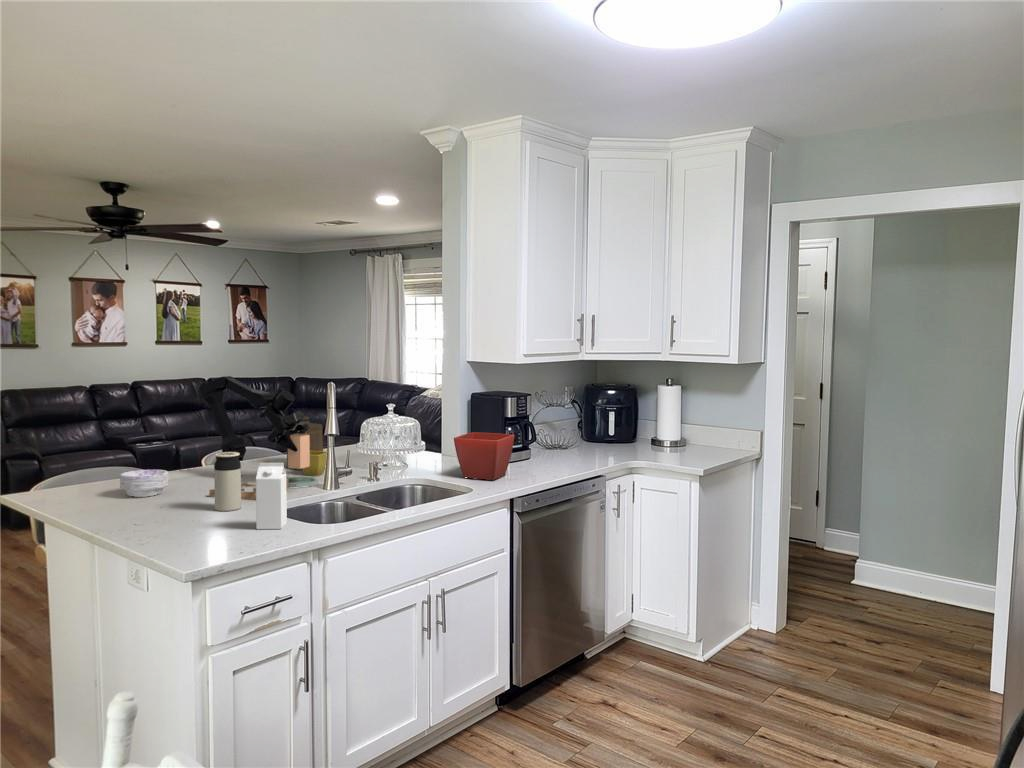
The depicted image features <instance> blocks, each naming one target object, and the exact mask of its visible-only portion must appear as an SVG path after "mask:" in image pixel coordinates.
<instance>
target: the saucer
mask: <svg viewBox="0 0 1024 768" xmlns="http://www.w3.org/2000/svg"><path fill="white" fill-rule="evenodd" d="M316 483H318V484H319V479H317V478H316V477H312V476H311V477H310V476H296V477H295V476H294V477H289V487H302V486H312V485H314V484H316ZM312 487H313V486H312Z"/></svg>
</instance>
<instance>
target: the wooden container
mask: <svg viewBox="0 0 1024 768" xmlns="http://www.w3.org/2000/svg"><path fill="white" fill-rule="evenodd" d="M309 420H310V417H309V416H308V415H304V418H303V421H299V422H297V423H296V426H295V427H293V428H294V429H295V428H296V427H297V425H298V424H307V425H308V426H309V429H308V430H307V431H306V432H305V433H304V434H308V435H309V440H310V451H324V440H323V438H324V437H323V435H324V434H323V424H322V423H315V422H310V421H309ZM286 467H287V469H288V448H286ZM292 469H296V470H295V471H303V469H297V468H289V470H292Z"/></svg>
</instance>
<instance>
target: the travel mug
mask: <svg viewBox="0 0 1024 768" xmlns="http://www.w3.org/2000/svg"><path fill="white" fill-rule="evenodd" d="M239 455H240V453H238V452H222V451H221V452H217V453H215V454H214V456H215V459H216V460H215V462H214V464H213V468H214V470H213V472H214V474H213V475H214V477H213V478H214V483H213V484H214V489H215V497H214V509H215V511H218V512H233V511H238V510H239V509H241V508H242V499H241V488H242V487H241V483H242V477H241V475H242V468H241V467H242V465H241V461H239V459H238V458H239Z"/></svg>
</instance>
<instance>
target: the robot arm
mask: <svg viewBox="0 0 1024 768" xmlns="http://www.w3.org/2000/svg"><path fill="white" fill-rule="evenodd" d="M198 389H199V391H198V392H199V395H200V396H201V398H202V400H203V401H204V402H205V403H206V404H207V405H208V406H209V407H210V410H211V413H212V414H213V415H212V416H213V418H214V420H215V423H216V426H217V427H218V428H217V429H218V431H219V434H220V437H221V439H222V441H221V445H220V447H221V453H222V452H238V453H240V455H239V458H238V459H239V461H240V462H243V460H244V457H245V454H246V452H247V449H246V447H247V445H246V444H245V441H244V438H243V437H242V436H241V437H238V436H237V435H236V433H235V431H234V428H233V425H232V422H231V420H230V418H229V415H228V411H227V409H226V407H225V404H224V396H225V393H224V392H225V391H226V390H229V391H231V392H233V393H235V394H237V395H239V396H240V397H243V398H245V399H246V400H247V402H248V403H249V404H250V405H251V406H252V407H253V408H255V409H262V408H265V409H264V410H261V411H260V410H259V411H260V412H259V418H260V419H264V418H266V419H267V421H268V422H269V423H270V428H271V429H272V431H271V432H270V433H269V434H268V435H267V437H266V438H267V439H266V440H267V442H268V443H269V444H270V445H271V444H276V445H279V446H282V447H284V448H286V449H287V448H288V449H290V450H293V451H295V452H297V450H298V449H297V448H296V446H295V444H294V443H293V441H292V440H291V439H290V435H292V434H297V433H298V434H304V433H305V432H306V431H307V430H308V429H309V426H308V425H307V424H298V425H297V427H296V428H295V429H294V428H293V427H295V426H296V424H297V423H300V422H301V421H303V418H304V416H305V414H304V413H303V412H301V411H300V410H298V411H296V412H294V413H291V414H289V415H285V414H284V413H283V412H285V411H287V410H288V409H289V407H291V405H292V404H293V403H294V401H295V400H296V398H295V395H294V394H293V393H291V392H290V391H288V390H286V389H285V388H283V387H282V388H279V390H278V391H277V393H276V394H274V395H273V394H272V393H271V392H269V391H265V390H261V389H254V388H253V387H251V386H249V385H247V384H245V383H243V382H241V381H239V380H237V379H235V378H234V377H233V376H231V375H225V376H224V375H223V376H221V377H218V378H216V379H214V380H211V381H207V382H202V383H201V384H200V385H199V388H198ZM282 411H283V412H282ZM276 440H277V441H276ZM241 476H242V477H243V474H241Z"/></svg>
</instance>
